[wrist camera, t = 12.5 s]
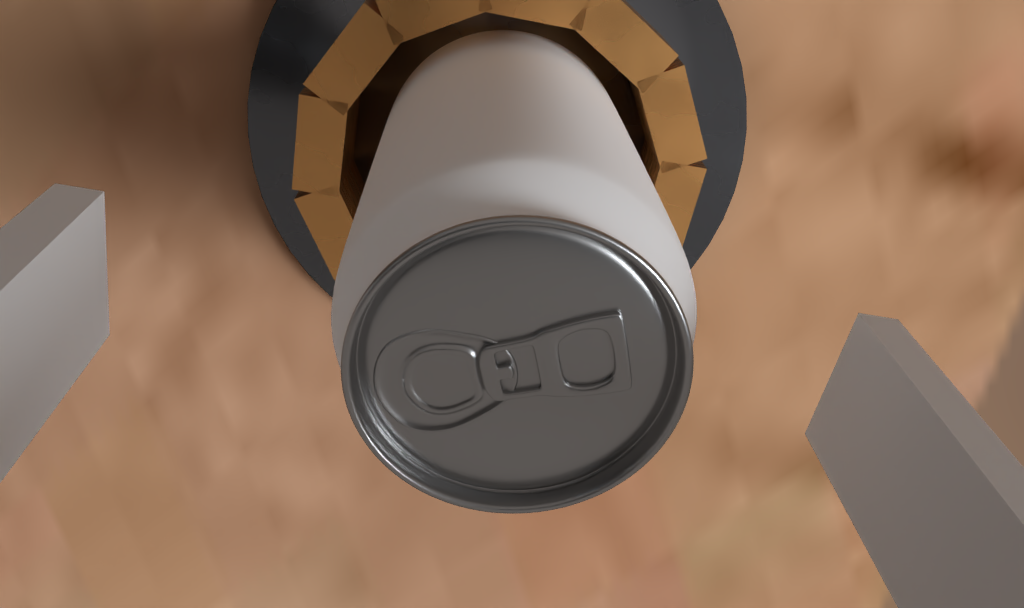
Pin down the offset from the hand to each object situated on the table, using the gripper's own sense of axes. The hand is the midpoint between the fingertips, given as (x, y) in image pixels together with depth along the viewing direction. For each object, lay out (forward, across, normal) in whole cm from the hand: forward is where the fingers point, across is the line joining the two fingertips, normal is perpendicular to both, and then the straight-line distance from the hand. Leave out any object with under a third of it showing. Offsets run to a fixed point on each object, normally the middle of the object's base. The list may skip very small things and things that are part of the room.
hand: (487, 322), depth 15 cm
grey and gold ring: (+11, 0, 0) cm, 11 cm away
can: (+10, 0, 0) cm, 11 cm away
